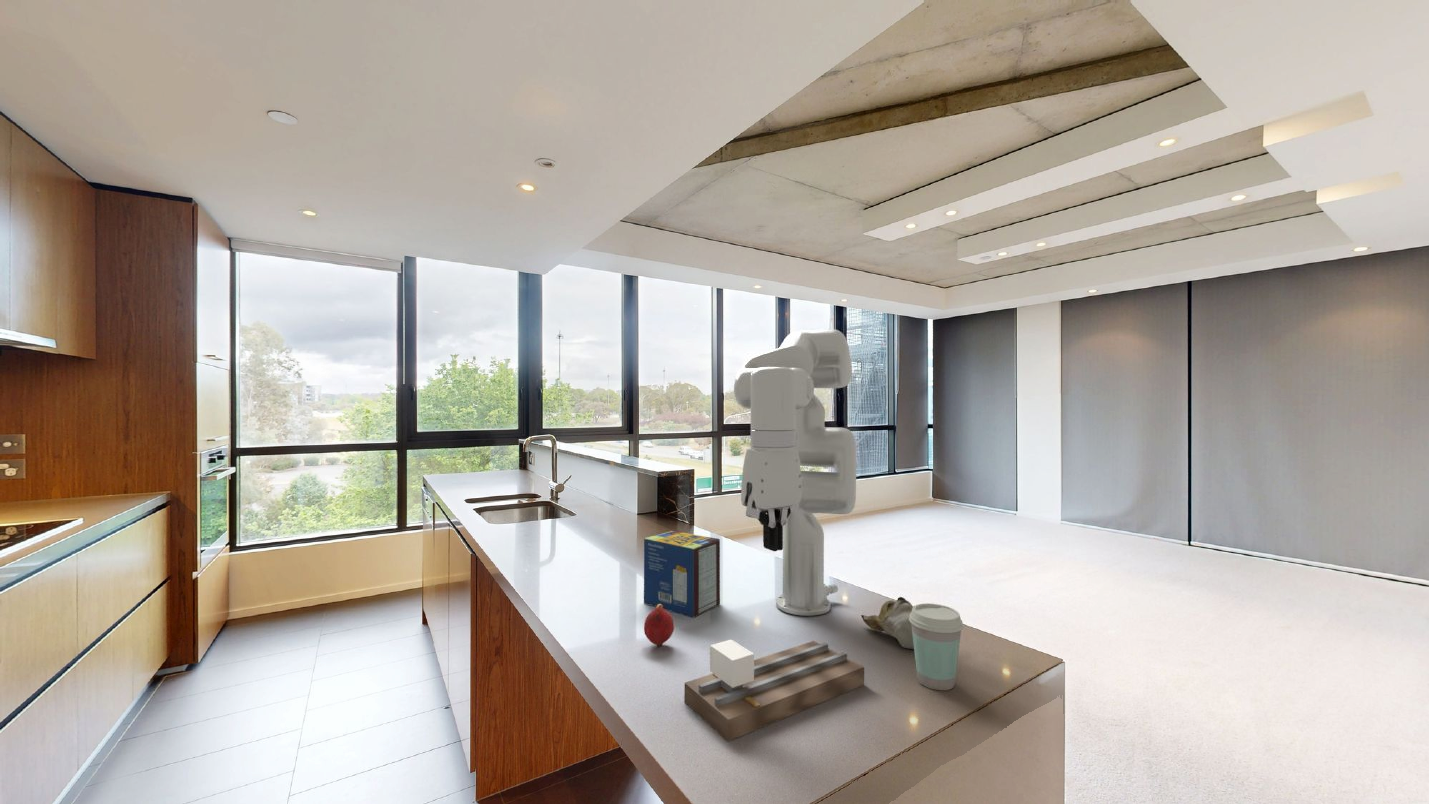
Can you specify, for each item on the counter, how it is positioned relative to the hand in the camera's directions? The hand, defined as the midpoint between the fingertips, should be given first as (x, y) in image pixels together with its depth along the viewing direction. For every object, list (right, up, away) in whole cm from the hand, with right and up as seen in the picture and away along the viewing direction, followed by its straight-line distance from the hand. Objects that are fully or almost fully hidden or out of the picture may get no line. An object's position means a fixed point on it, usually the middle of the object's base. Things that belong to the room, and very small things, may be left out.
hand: (773, 548), depth 91 cm
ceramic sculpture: (+28, -23, +18) cm, 41 cm away
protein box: (-18, -23, +37) cm, 47 cm away
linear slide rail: (0, -23, -3) cm, 23 cm away
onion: (-21, -23, +14) cm, 34 cm away
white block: (-7, -19, -8) cm, 22 cm away
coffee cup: (+28, -23, +1) cm, 36 cm away
